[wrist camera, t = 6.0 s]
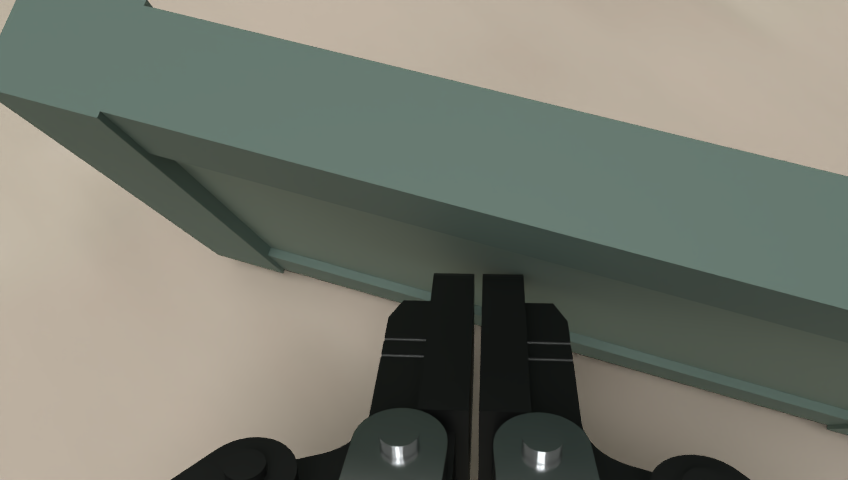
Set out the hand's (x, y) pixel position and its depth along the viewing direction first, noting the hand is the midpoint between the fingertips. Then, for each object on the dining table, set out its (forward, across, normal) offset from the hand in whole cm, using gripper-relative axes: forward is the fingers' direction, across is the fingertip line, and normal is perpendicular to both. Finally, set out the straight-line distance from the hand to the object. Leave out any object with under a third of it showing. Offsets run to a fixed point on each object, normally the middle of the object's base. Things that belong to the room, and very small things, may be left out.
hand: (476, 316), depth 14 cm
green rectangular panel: (+4, -2, +3) cm, 6 cm away
